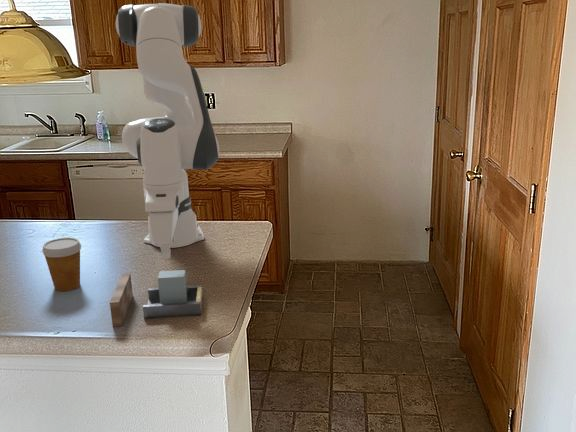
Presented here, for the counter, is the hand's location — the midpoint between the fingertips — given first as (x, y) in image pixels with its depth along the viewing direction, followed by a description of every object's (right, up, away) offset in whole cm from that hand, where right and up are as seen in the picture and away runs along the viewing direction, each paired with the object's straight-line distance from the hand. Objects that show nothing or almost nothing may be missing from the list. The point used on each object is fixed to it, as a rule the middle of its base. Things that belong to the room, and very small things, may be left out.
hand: (168, 249), depth 133 cm
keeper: (0, -14, +4) cm, 15 cm away
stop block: (0, -13, +4) cm, 14 cm away
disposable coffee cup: (-30, -11, +17) cm, 36 cm away
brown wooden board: (-11, -15, +3) cm, 19 cm away
